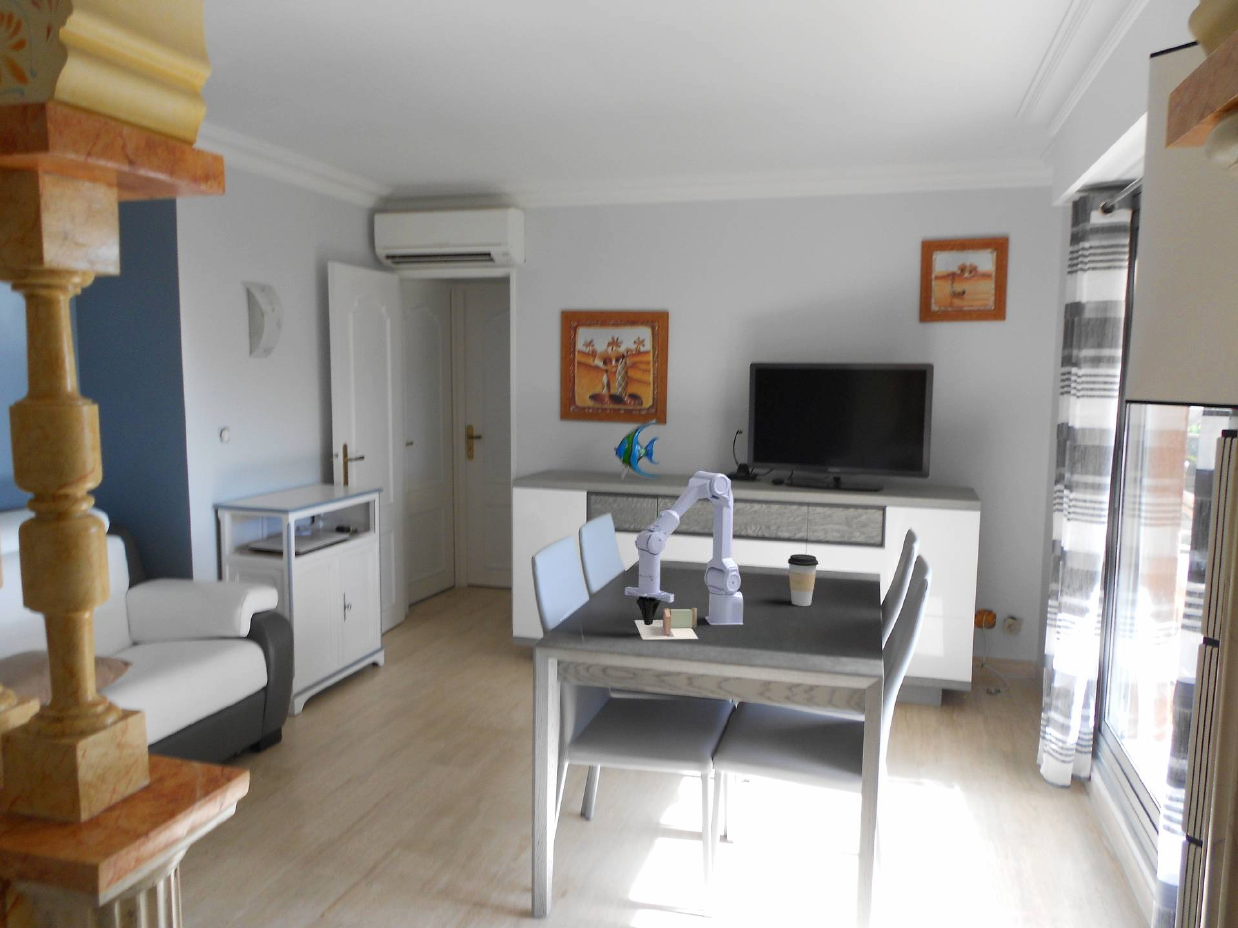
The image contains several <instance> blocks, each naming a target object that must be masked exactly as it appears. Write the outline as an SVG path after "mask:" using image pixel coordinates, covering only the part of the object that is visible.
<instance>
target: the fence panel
mask: <svg viewBox="0 0 1238 928" xmlns="http://www.w3.org/2000/svg"><path fill="white" fill-rule="evenodd" d="M662 611H663V613H662V615H663V616H662V620H663V627H664V628H665V633H666V635H670V632H671V616H670V608H668V607H665V608H663V609H662Z"/></svg>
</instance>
